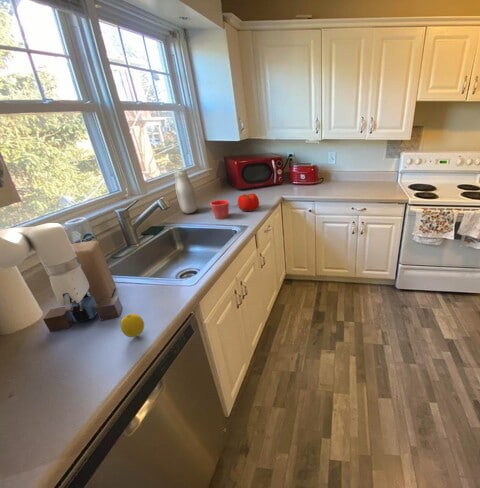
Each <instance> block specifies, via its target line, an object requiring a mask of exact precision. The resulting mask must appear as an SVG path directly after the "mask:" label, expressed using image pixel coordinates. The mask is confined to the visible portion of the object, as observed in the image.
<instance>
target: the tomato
mask: <svg viewBox="0 0 480 488" xmlns="http://www.w3.org/2000/svg"><path fill="white" fill-rule="evenodd" d="M237 206H238V209H240V211H243V212H251V211H256V210H257V209H258V208H259V207H260V200H259V197H258V196H257V194H256V193H253V192H251V193H249V194H246V193H243V194H241V195H239V196H238V198H237Z"/></svg>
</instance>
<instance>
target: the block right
mask: <svg viewBox="0 0 480 488" xmlns="http://www.w3.org/2000/svg"><path fill="white" fill-rule="evenodd" d="M95 309H96V311H97V313H96V314H97V316H98V318H99V319H100V321H101V322H103V321H108V320H112V319H117V318H120V316H121V314H122V311H123V309H124V308H123V305H122V303H121V300H120V297H119V296H118V295H117V296H112V297H111V298H106V299H101V300H100V301H99V302H98V303H97V307H96V308H95Z"/></svg>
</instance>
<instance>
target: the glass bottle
mask: <svg viewBox="0 0 480 488" xmlns="http://www.w3.org/2000/svg"><path fill="white" fill-rule="evenodd" d="M173 177H174V178H175V179H174V180H175V181H174V182H175V186H174V187H175V194H176V198H177V201H178V205H179V208H180V210H181V212H182V213H184V214H188V215H189V214H190V215H191V214H194V213H195V212H196V211H197V210H198V203H197V198H196V194H195V188H194V186H193V184H192V183H191V180H190V178H189V175H188V172H187V170H185V169H181V168H180V169H177V170H174V173H173Z"/></svg>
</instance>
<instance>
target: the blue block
mask: <svg viewBox="0 0 480 488" xmlns="http://www.w3.org/2000/svg"><path fill="white" fill-rule="evenodd" d="M81 303H82V306H83V308H85V309H86V312H87V314H88V316H89V319H88V320H90V319H94V318H95V317H96V315H97V314H98V313H97V311H96V309H95V308H96V307H97V305H98V303H96V301H95V299H94V297H93V296H91V297H86V298H83V299H82V300H81ZM73 306H78V304H73ZM69 312H70V311H69ZM70 314H71V316H72V318H73V320H74V322H75V323H77V321H76V320H75V318H74V316H73V314H72V313H71V312H70ZM74 322H73V323H74Z"/></svg>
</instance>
